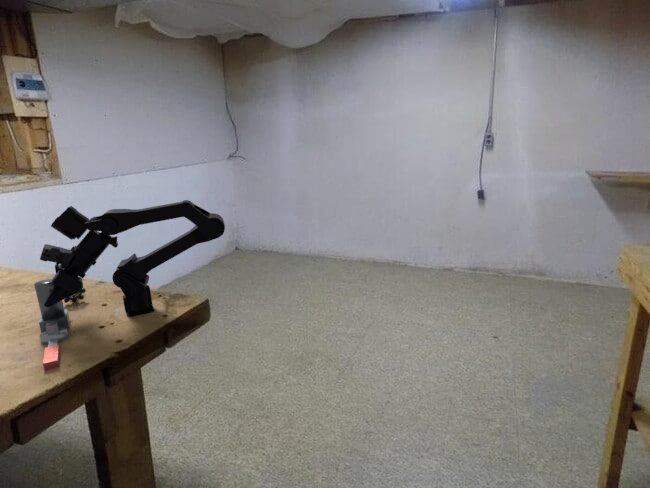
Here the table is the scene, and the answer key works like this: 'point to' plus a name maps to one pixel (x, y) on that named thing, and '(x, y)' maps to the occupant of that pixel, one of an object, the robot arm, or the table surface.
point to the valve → (74, 299)
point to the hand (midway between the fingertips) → (46, 300)
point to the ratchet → (52, 344)
